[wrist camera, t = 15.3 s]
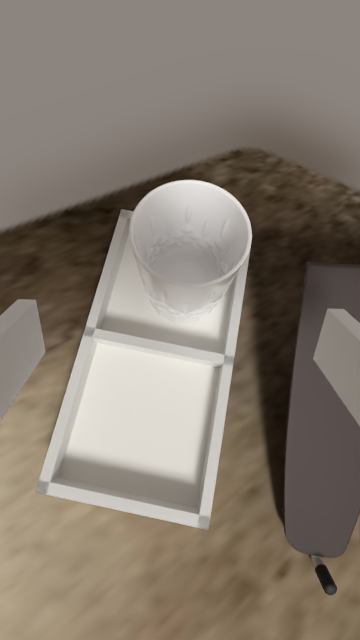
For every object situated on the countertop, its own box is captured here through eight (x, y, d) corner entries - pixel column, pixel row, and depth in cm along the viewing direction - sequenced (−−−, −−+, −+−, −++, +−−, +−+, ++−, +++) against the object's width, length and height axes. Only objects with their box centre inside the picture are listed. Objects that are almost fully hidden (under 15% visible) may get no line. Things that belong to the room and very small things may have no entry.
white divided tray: (50, 483, 25) (35, 492, 22) (125, 227, 33) (121, 209, 30) (203, 516, 25) (208, 529, 22) (245, 250, 32) (252, 234, 29)
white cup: (178, 238, 31) (182, 159, 22) (241, 285, 30) (276, 224, 20) (124, 294, 29) (102, 235, 20) (189, 348, 28) (201, 312, 18)
